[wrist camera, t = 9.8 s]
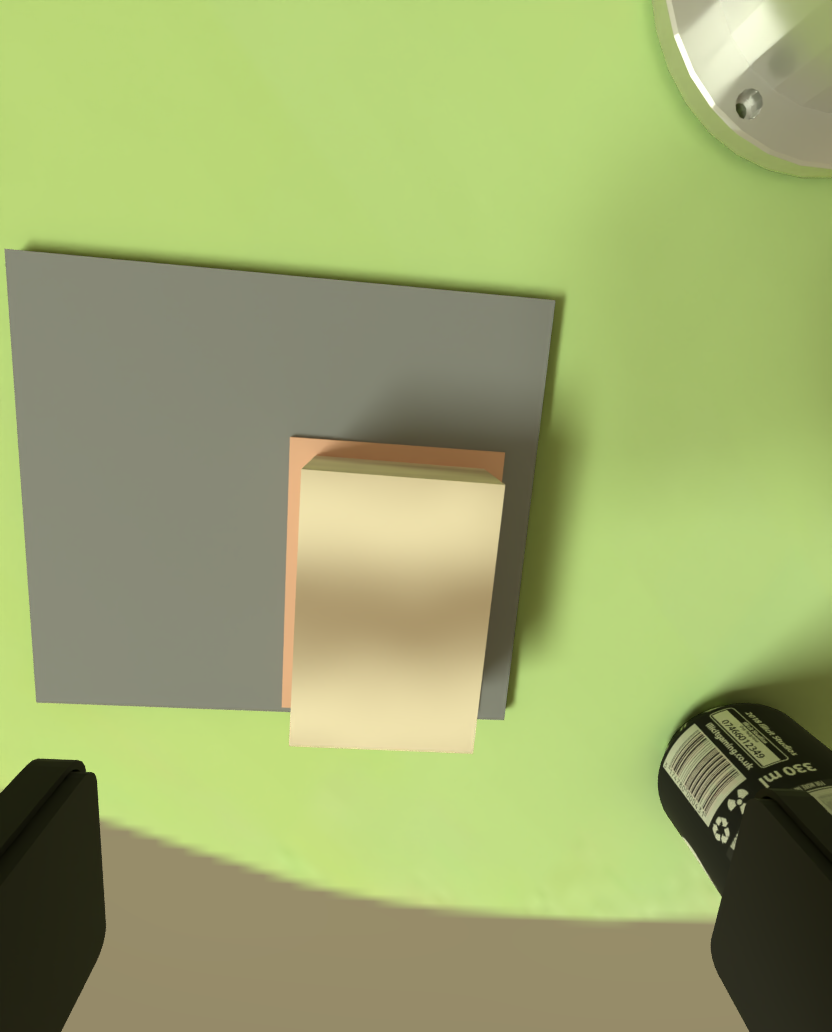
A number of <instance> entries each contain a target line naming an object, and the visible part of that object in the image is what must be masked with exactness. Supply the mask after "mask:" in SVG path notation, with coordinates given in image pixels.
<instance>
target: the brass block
mask: <svg viewBox="0 0 832 1032" xmlns="http://www.w3.org/2000/svg"><path fill="white" fill-rule="evenodd" d="M504 492H505V484H503V483H502V482H501V481H500V480H498V479H497V478H496V477H494V476H493V475H492V474H490V473H489V472H488V471H486V470H485V469H481V468H469V467H456V466H444V465H431V464H418V463H406V462H393V461H380V460H368V459H355V458H342V457H330V456H317V455H315V456H314V457H313V458H312V459H311V460H310V461H309V462H308V463H307V464H306V465H305V466H304V467H303V468H302V469H301V485H300V508H299V531H298V554H297V576H296V599H295V622H294V645H293V667H292V690H291V713H290V736H289V746H299V747H323V748H348V749H372V750H397V751H421V752H446V753H470V754H473V748H474V740H475V732H476V724H477V715H478V707H479V699H480V690H481V682H482V674H483V666H484V657H485V649H486V641H487V633H488V624H489V616H490V608H491V599H492V591H493V583H494V575H495V566H496V558H497V550H498V542H499V533H500V525H501V517H502V508H503V500H504Z"/></svg>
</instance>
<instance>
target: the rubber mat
mask: <svg viewBox="0 0 832 1032" xmlns="http://www.w3.org/2000/svg"><path fill="white" fill-rule="evenodd" d="M5 262H6V276H7V290H8V304H9V319H10V333H11V347H12V362H13V376H14V390H15V404H16V419H17V433H18V447H19V461H20V476H21V490H22V504H23V518H24V533H25V547H26V561H27V576H28V590H29V604H30V618H31V633H32V647H33V661H34V675H35V690H36V702H39V703H66V704H92V705H119V706H145V707H172V708H198V709H225V710H251V711H278V712H291V690H292V667H293V645H294V622H295V599H296V576H297V554H298V531H299V508H300V485H301V469H302V468H303V467H304V466H305V465H306V464H307V463H308V462H309V461H310V460H311V459H312V458H313V457H314V456H315V455H317V456H330V457H342V458H355V459H368V460H380V461H393V462H406V463H418V464H431V465H444V466H456V467H469V468H481V469H485V470H486V471H488V472H489V473H490V474H492V475H493V476H494V477H496V478H497V479H498V480H500V481H501V482H502V483H503V484H505V492H504V500H503V508H502V517H501V525H500V533H499V542H498V550H497V558H496V566H495V575H494V583H493V591H492V599H491V608H490V616H489V624H488V633H487V641H486V649H485V657H484V666H483V674H482V682H481V690H480V699H479V707H478V715H477V719H490V720H504V716H505V708H506V699H507V691H508V683H509V675H510V667H511V659H512V651H513V642H514V634H515V626H516V618H517V610H518V602H519V594H520V585H521V577H522V569H523V561H524V553H525V545H526V536H527V528H528V520H529V512H530V504H531V496H532V488H533V479H534V471H535V463H536V455H537V447H538V439H539V431H540V422H541V414H542V406H543V398H544V390H545V382H546V373H547V365H548V357H549V349H550V341H551V333H552V325H553V316H554V308H555V300H547V299H536V298H526V297H515V296H504V295H494V294H483V293H472V292H461V291H451V290H440V289H429V288H419V287H408V286H397V285H386V284H376V283H365V282H354V281H344V280H333V279H322V278H311V277H301V276H290V275H279V274H269V273H258V272H247V271H236V270H226V269H215V268H204V267H194V266H183V265H172V264H161V263H151V262H140V261H129V260H119V259H108V258H97V257H86V256H76V255H65V254H54V253H44V252H33V251H22V250H11V249H5Z"/></svg>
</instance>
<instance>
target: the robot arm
mask: <svg viewBox="0 0 832 1032" xmlns="http://www.w3.org/2000/svg"><path fill="white" fill-rule="evenodd" d="M652 6H653V13H654V20H655V28H656V33H657V36H658V39H659V42H660V45H661V49H662V52H663V55H664V58H665V61H666V64H667V68H668V71H669V73H670V74H671V76H672V78H673V80H674V82H675V84H676V86H677V88H678V89H679V91H680V93H681V95H682V97H683V99H684V101H685V103H686V104H687V106H688V107H689V108H690V110H691V111H692V112H693V113H694V114H695V116H696V117H697V118H698V119H699V121H700V122H701V123H702V124H703V125H704V127H705V128H706V129H707V130H708V132H709V133H710V134H711V135H713V136H714V137H715V138H716V139H718V140H719V141H720V142H721V143H723V144H724V145H725V146H726V147H728V148H729V149H730V150H731V151H733V152H734V153H735V154H736V155H738V156H740V157H742V158H744V159H746V160H748V161H750V162H752V163H754V164H756V165H758V166H760V167H762V168H765V169H767V170H770V171H774V172H778V173H783V174H787V175H791V176H796V177H800V178H832V0H652ZM105 931H106V920H105V903H104V888H103V871H102V855H101V839H100V823H99V807H98V791H97V779H96V776H95V774H94V773H92V772H86V769H85V766H84V764H83V762H82V761H79V760H59V759H36V760H33V761H31V762H30V763H29V764H28V765H27V766H26V767H25V768H24V769H23V770H22V771H21V772H20V773H19V774H18V775H17V776H16V777H15V778H14V779H13V780H12V781H11V782H10V784H9V785H8V786H7V787H6V788H5V789H4V790H3V791H2V792H1V793H0V1032H61V1031H62V1029H63V1027H64V1024H65V1023H66V1021H67V1019H68V1017H69V1015H70V1013H71V1011H72V1009H73V1007H74V1005H75V1003H76V1001H77V999H78V997H79V995H80V993H81V991H82V989H83V987H84V985H85V983H86V981H87V979H88V977H89V975H90V973H91V971H92V969H93V967H94V965H95V963H96V961H97V958H98V957H99V954H100V952H101V949H102V946H103V942H104V937H105ZM711 954H712V959H713V962H714V965H715V968H716V970H717V973H718V975H719V977H720V978H721V980H722V982H723V984H724V986H725V987H726V989H727V991H728V993H729V995H730V997H731V999H732V1000H733V1002H734V1004H735V1006H736V1007H737V1010H738V1011H739V1013H740V1015H741V1017H742V1019H743V1020H744V1022H745V1024H746V1026H747V1028H748V1030H749V1032H832V815H831V814H830V813H829V812H828V811H827V810H826V809H825V808H824V807H823V806H822V805H821V804H820V803H819V802H818V801H817V800H816V799H815V798H814V797H813V796H812V795H810V794H809V793H808V792H806V791H803V790H799V789H774V788H764V789H760V790H759V791H758V792H757V793H756V795H755V797H754V799H750V800H749V801H747V803H746V805H745V808H744V812H743V816H742V820H741V824H740V828H739V832H738V836H737V840H736V844H735V848H734V852H733V856H732V860H731V863H730V867H729V871H728V875H727V879H726V883H725V887H724V891H723V895H722V899H721V903H720V907H719V911H718V915H717V919H716V923H715V927H714V931H713V934H712V938H711Z"/></svg>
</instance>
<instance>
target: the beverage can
mask: <svg viewBox="0 0 832 1032" xmlns="http://www.w3.org/2000/svg"><path fill="white" fill-rule="evenodd" d="M764 788H774V789H799V790H803V791H806V792H808V793H809V794H810V795H812V796H813V797H814V798H815V799H816V800H817V801H818V802H819V803H820V804H821V805H822V806H823V807H824V808H825V809H826V810H827V811H828V812H829V813H830V814H831V815H832V751H831V750H830V749H829V748H827V747H826V746H825V745H824V744H822V743H821V742H820V741H819V740H817V739H816V738H815V737H814V736H812V735H811V734H810V733H809V732H807V731H806V730H805V729H804V728H803V727H801V726H800V725H799V724H798V723H796V722H795V721H794V720H793V719H791V718H790V717H789V716H787V715H786V714H784V713H782V712H780V711H778V710H776V709H773V708H771V707H768V706H764V705H759V704H751V703H741V704H732V705H727V706H722V707H717V708H713V709H710V710H707V711H705V712H703V713H701V714H699V715H697V716H695V717H694V718H692V719H691V720H689V721H688V722H687V723H685V724H684V725H683V726H682V727H681V728H680V729H679V730H678V731H677V733H676V734H675V735H674V736H673V738H672V740H671V741H670V743H669V745H668V747H667V749H666V751H665V754H664V757H663V759H662V762H661V765H660V769H659V774H658V791H659V796H660V800H661V803H662V806H663V808H664V811H665V812H666V814H667V816H668V817H669V819H670V820H671V822H672V823H673V825H674V826H675V827H676V829H677V830H678V832H679V833H680V835H681V836H682V838H683V839H684V841H685V842H686V844H687V845H688V847H689V848H690V850H691V851H692V853H693V854H694V856H695V857H696V859H697V860H698V862H699V863H700V865H701V866H702V868H703V869H704V871H705V872H706V874H707V875H708V877H709V878H710V880H711V881H712V883H713V884H714V886H715V887H716V889H717V890H718V892H719V893H720V895H721V896H722V895H723V891H724V887H725V883H726V879H727V875H728V871H729V867H730V863H731V860H732V856H733V852H734V848H735V844H736V840H737V836H738V832H739V828H740V824H741V820H742V816H743V812H744V808H745V805H746V803H747V801H749V800H750V799H754V797H755V795H756V793H757V792H758V791H759V790H760V789H764Z"/></svg>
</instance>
